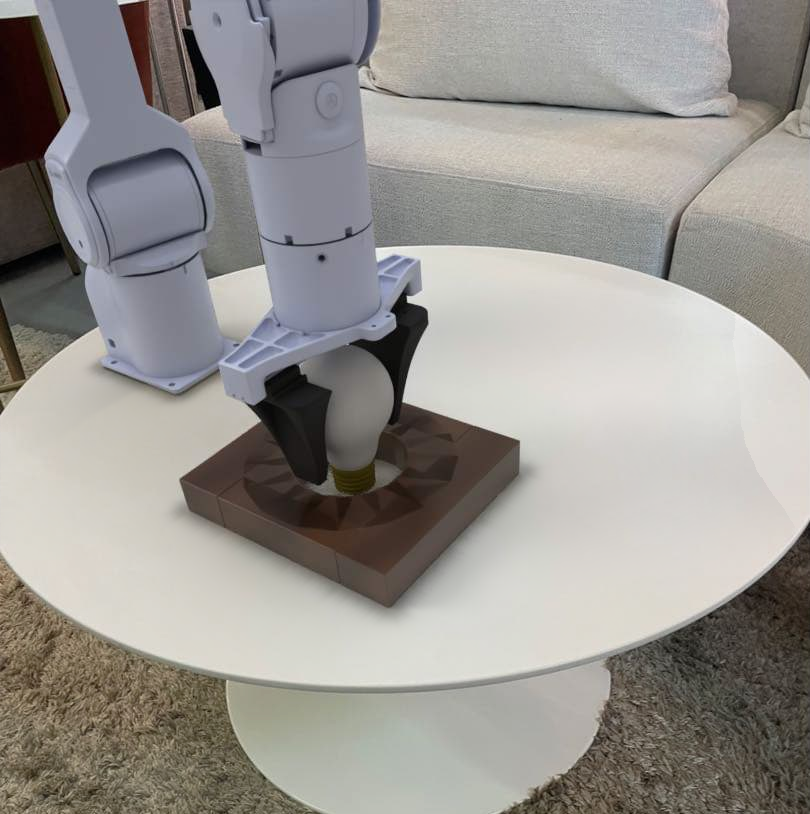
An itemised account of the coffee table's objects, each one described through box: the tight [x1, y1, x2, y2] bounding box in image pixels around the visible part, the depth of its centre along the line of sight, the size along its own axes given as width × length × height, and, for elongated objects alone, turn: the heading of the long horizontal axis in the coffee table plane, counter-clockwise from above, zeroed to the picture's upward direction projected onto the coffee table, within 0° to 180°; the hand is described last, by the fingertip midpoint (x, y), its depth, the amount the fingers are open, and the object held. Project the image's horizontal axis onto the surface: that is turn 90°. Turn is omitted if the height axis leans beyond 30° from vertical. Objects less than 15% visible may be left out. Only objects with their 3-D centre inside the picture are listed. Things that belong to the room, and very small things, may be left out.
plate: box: [178, 401, 521, 608], centre depth 51 cm, size 16×14×2 cm
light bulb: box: [299, 344, 394, 496], centre depth 48 cm, size 6×6×10 cm
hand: (348, 447), depth 49 cm, fingers open, 6 cm apart
